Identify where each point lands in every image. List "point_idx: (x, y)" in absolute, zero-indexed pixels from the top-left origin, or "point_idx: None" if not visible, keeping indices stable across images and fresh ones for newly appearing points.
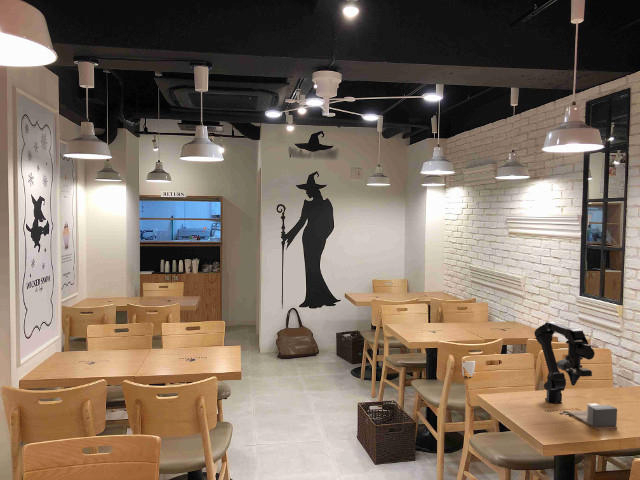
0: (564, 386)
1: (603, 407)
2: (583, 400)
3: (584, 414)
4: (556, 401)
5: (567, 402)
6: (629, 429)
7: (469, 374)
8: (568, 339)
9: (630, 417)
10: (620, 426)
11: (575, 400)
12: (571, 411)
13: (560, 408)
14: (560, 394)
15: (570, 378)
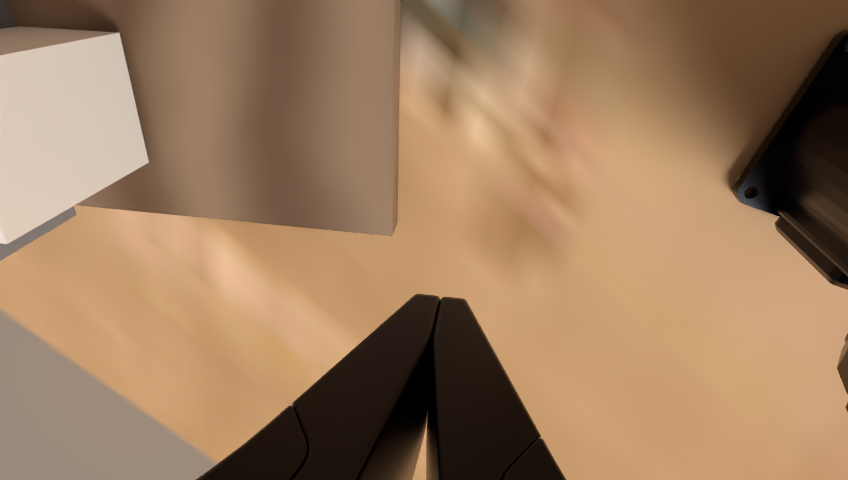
0: (841, 356)
1: None
2: (698, 465)
3: (273, 129)
4: (795, 137)
5: (733, 289)
6: (4, 284)
7: None
8: None
9: None
10: (59, 268)
11: (737, 405)
12: (385, 36)
13: (603, 33)
14: (834, 250)
15: (471, 431)
